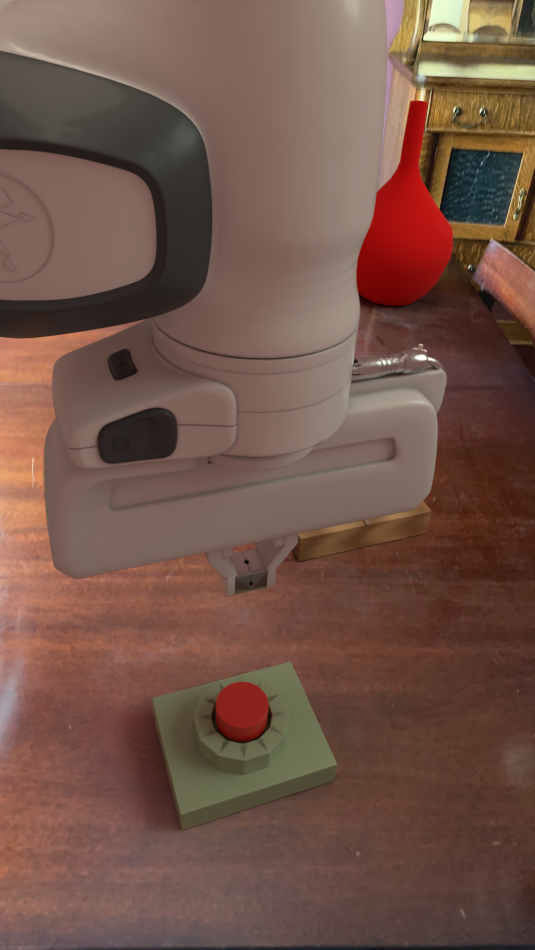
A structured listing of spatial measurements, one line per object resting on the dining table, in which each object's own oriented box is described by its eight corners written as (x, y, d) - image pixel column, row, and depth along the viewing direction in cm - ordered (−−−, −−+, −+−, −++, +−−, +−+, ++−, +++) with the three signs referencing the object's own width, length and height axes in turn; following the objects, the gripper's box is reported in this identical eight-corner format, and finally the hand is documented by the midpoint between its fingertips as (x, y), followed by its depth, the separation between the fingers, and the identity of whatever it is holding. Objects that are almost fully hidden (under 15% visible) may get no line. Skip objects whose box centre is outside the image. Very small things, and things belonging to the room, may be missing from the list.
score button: (224, 748, 45) (224, 734, 44) (209, 703, 48) (209, 688, 47) (274, 733, 46) (275, 719, 45) (257, 690, 49) (258, 675, 48)
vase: (450, 320, 110) (496, 116, 92) (338, 314, 110) (362, 109, 92) (431, 278, 125) (467, 95, 107) (332, 273, 125) (352, 89, 107)
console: (298, 562, 65) (301, 538, 63) (260, 491, 73) (261, 468, 71) (426, 534, 69) (432, 510, 67) (376, 470, 77) (381, 447, 75)
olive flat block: (181, 831, 44) (179, 800, 42) (153, 714, 51) (150, 682, 49) (334, 781, 48) (340, 750, 45) (289, 677, 54) (292, 645, 52)
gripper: (421, 319, 36) (382, 516, 44) (16, 365, 30) (60, 582, 38) (489, 375, 31) (431, 584, 40) (25, 444, 25) (73, 671, 34)
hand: (245, 584), depth 39 cm, fingers closed
